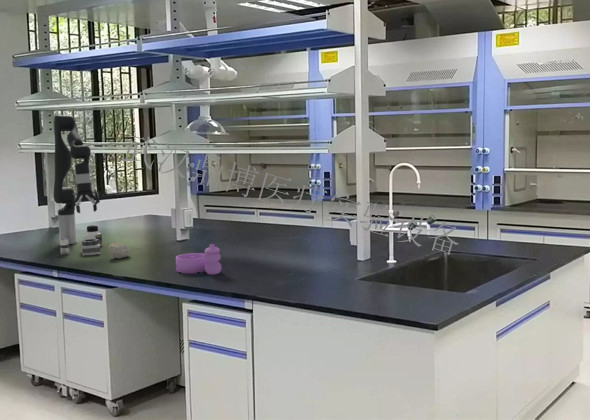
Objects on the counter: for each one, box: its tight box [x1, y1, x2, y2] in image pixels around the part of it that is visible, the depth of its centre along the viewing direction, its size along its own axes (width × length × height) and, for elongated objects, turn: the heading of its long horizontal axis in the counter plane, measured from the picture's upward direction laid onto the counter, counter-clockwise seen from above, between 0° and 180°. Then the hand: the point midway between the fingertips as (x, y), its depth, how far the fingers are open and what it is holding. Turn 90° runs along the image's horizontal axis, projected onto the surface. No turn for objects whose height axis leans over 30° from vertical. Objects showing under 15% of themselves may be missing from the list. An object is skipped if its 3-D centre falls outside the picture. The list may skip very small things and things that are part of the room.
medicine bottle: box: [83, 224, 103, 247], centre depth 368 cm, size 7×7×12 cm
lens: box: [59, 238, 70, 256], centre depth 345 cm, size 5×5×8 cm
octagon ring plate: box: [80, 239, 101, 257], centre depth 346 cm, size 12×9×7 cm
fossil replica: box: [107, 241, 130, 260], centre depth 331 cm, size 12×8×10 cm
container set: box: [175, 243, 222, 275], centre depth 293 cm, size 25×15×13 cm, turn 49°
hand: (87, 212), depth 350 cm, fingers open, 8 cm apart
